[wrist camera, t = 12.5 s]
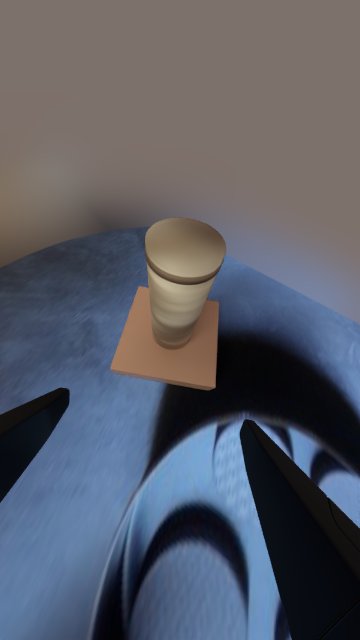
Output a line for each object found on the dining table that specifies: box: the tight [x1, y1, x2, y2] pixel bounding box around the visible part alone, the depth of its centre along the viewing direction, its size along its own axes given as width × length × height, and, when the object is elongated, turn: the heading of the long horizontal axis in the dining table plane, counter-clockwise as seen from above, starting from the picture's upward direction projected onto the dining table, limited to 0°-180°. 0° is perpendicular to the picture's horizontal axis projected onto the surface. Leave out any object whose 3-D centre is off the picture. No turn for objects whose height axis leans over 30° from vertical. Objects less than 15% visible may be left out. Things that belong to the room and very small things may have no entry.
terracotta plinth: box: [110, 286, 219, 390], centre depth 23 cm, size 12×12×3 cm
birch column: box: [145, 217, 226, 350], centre depth 16 cm, size 5×5×13 cm
